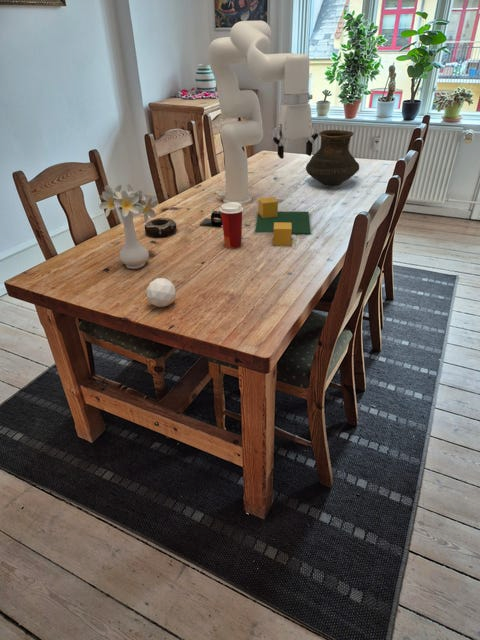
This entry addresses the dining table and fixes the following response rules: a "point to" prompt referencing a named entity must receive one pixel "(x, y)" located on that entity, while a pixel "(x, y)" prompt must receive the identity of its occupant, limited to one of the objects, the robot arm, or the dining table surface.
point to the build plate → (213, 220)
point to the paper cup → (232, 224)
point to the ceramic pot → (333, 159)
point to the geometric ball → (161, 292)
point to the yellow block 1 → (268, 207)
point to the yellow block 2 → (282, 234)
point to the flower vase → (129, 221)
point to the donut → (160, 227)
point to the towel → (296, 218)
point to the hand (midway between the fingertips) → (294, 156)
